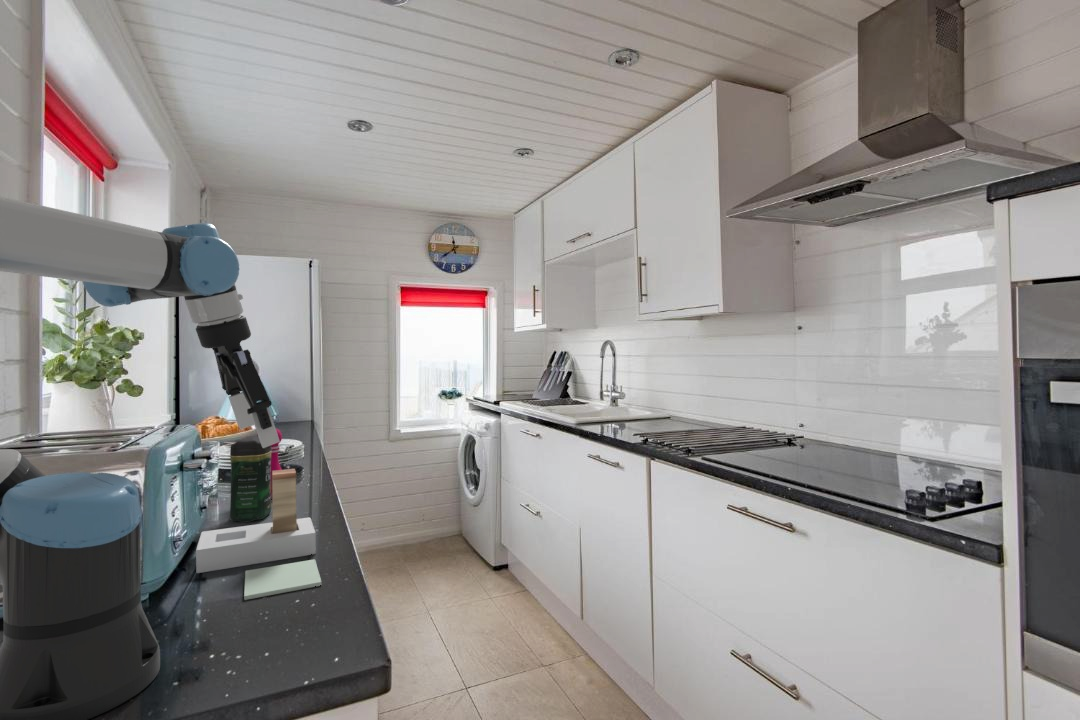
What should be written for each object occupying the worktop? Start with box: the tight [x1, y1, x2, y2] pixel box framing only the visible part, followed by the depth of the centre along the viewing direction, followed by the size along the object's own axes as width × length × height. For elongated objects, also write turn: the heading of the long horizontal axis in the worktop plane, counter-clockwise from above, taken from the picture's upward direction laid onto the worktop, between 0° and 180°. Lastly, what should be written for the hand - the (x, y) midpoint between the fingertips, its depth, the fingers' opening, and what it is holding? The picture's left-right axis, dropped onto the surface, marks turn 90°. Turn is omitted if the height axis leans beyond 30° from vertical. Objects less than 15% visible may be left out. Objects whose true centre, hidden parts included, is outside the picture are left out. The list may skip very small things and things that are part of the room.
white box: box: [195, 517, 317, 574], centre depth 102 cm, size 11×19×4 cm, turn 118°
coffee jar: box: [229, 435, 273, 523], centre depth 125 cm, size 10×8×19 cm
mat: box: [243, 559, 323, 601], centre depth 90 cm, size 11×11×1 cm
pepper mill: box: [256, 428, 283, 499], centre depth 142 cm, size 7×7×20 cm
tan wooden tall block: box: [271, 468, 298, 534], centre depth 104 cm, size 4×4×15 cm
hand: (258, 435), depth 96 cm, fingers open, 13 cm apart
